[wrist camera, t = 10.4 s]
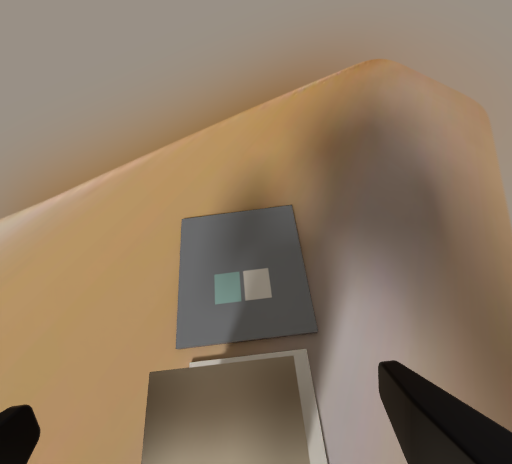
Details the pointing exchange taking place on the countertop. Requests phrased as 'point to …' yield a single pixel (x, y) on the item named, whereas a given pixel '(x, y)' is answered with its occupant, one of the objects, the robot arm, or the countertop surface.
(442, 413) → the robot arm
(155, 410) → the birch block
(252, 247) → the gray tile
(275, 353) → the pad
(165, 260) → the countertop surface
